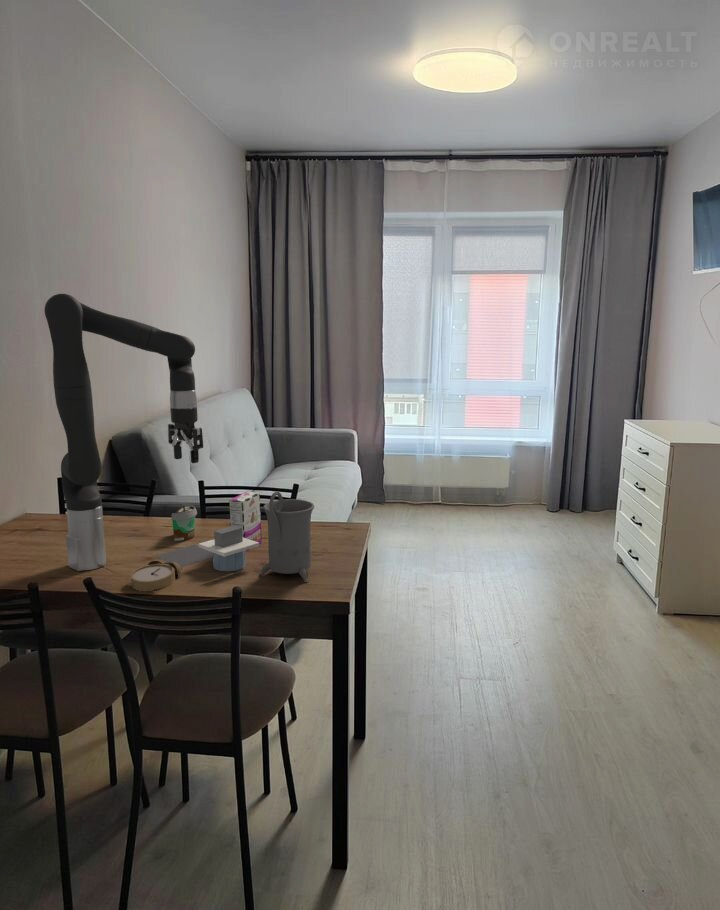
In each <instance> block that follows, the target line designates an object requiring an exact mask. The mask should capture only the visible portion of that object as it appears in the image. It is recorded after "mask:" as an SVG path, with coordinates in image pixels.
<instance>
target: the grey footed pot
mask: <svg viewBox="0 0 720 910" xmlns="http://www.w3.org/2000/svg"><path fill="white" fill-rule="evenodd" d="M275 497H278V499H277V500H275ZM314 509H315V504H314V503H313V502H311V501H308V500H304V499H296V498H292V499H291V498H290V499H289V498H287V499H284V498H283V495H282V493H281V492H280V491H277V490H276V491H274V492H273V493H272V494H271V495H270V498H269V502H266V503H265V504H264V505H263V510H264V512H265V514H266V517H267V518H266V520H267V537H268V538H267V541H268V562H267V563H265V564H264V565H263V566H262V568H261V571H260V572H259V573H258V575H259V576H263V575H265V574H266V573H267V571H272V572H274V573H277V574H278V573H279V574H286V575H287V574H289V575H290V574H298V575H299V576H301V578H302V580H303V581H304V582H305V581H306V582H307V581H308V582H309V580H308V574H307V571H308V570H309V569H310V568H311V566H312V549H311V546H312V544H311V541H312V540H311V539H312V538H311V537H312V536H311V535H312V534H311V520H312V513H313V510H314ZM306 582H305V583H306ZM308 582H307V583H308Z"/></svg>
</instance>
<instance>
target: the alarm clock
mask: <svg viewBox="0 0 720 910" xmlns="http://www.w3.org/2000/svg"><path fill="white" fill-rule="evenodd" d="M182 570H183V567H180V566H179V564H178V563H176V562H167V561H165V562H162V561H161V560H158V559H153V560H151V561H149V563H147V564H146V565H143V566H140V567H138V568H136V569H134V570H133V571H132V572H131V573H130V575H129V576H130V583H128V584H127V586H128V587H131V588H132V587H133V588H134V589H136V590H135V591H137V590H139V591H138V592H141V591H154V590H160V589H163V588H167V587H170V586H173V584H174V583H176V575H177V579H178V578H180V577H181V575H182ZM133 588H132V589H133ZM134 589H133V590H134ZM154 592H155V591H154Z"/></svg>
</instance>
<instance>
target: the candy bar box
mask: <svg viewBox="0 0 720 910" xmlns="http://www.w3.org/2000/svg"><path fill="white" fill-rule="evenodd" d="M228 503H229V504H228V505H229V522H230V527H231V526H237V527H241V528H242V537H243V538H246V539H250V540H253V541H256V542H259V545H261V544H262V543H263V540H262V539H263V537H262V535H263V534H262V520H261V519H262V518H261V515H262V514H261V495H260V492H256V491H245V492H243V493H241V494H239V495H237V496H235V497H233V498H231V499H230V500H228ZM249 550H251V549H248V550H246V553H247V552H248V551H249Z"/></svg>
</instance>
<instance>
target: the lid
mask: <svg viewBox="0 0 720 910" xmlns="http://www.w3.org/2000/svg"><path fill="white" fill-rule="evenodd" d="M213 533H214V534H213V535H214V536H213V537H214V539H210V540H207V541H203V542H200V543H198V544H197V546H199V547H200V548H202V549H205V550H208V551H210V552H213V553H216V554H218V555H221V556H224V557H225V556H228V555H232V554H235V553H238V552H242V551H245V550H248V549H250V550H251V549H255V548H257V547H260V544H259V542H256V541H253V540H250V539H246V538H243V537H242V528H241V527H237V526H231V525H230V526H228V527H224V528H220V529H217V530H214V532H213ZM248 551H249V550H248Z"/></svg>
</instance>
